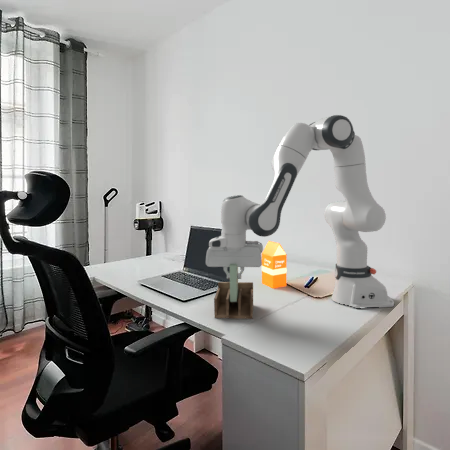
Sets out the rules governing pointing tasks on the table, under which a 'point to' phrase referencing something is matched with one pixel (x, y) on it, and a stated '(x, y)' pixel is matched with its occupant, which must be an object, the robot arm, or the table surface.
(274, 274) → the orange juice
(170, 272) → the table surface
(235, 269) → the board
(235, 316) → the file sorter
